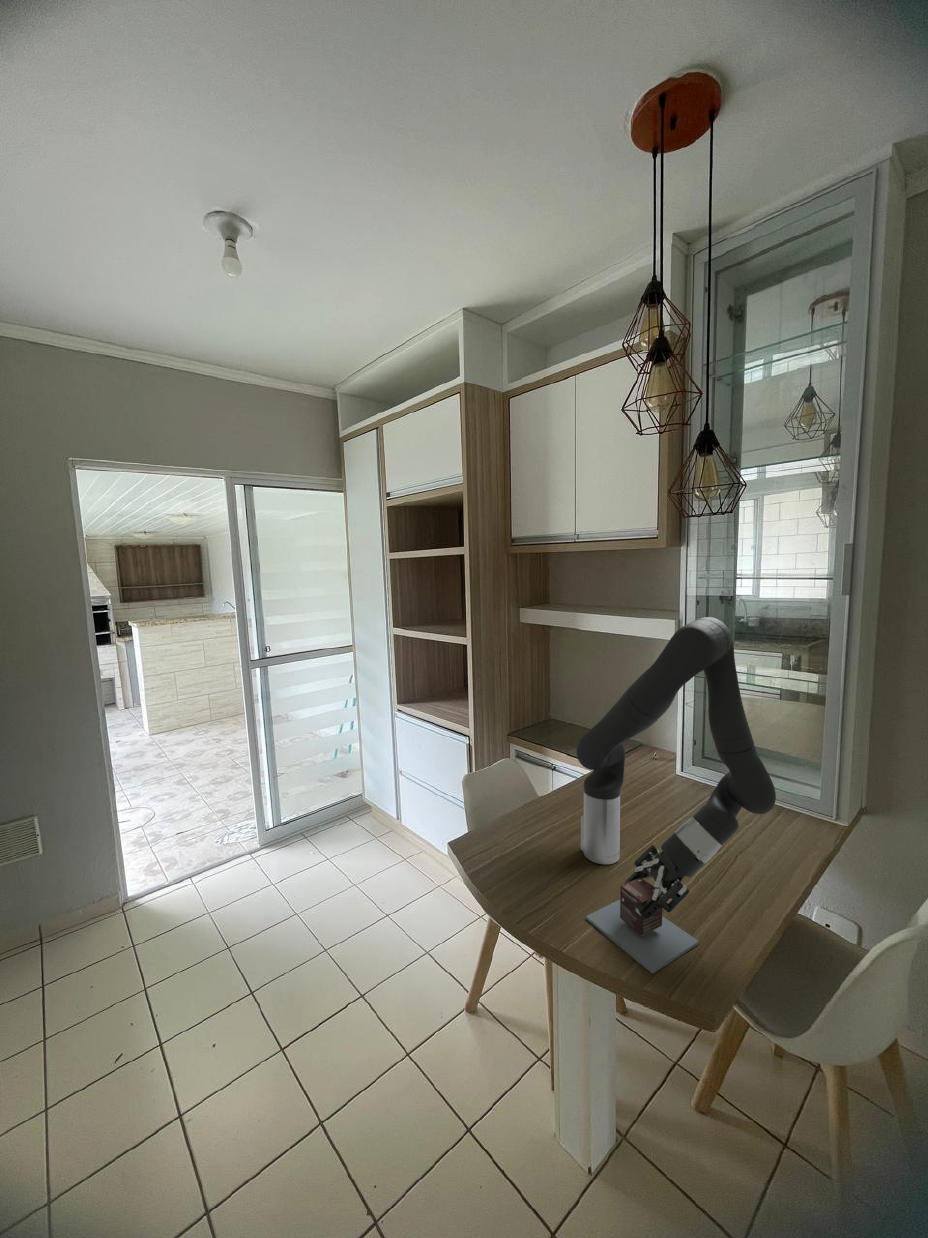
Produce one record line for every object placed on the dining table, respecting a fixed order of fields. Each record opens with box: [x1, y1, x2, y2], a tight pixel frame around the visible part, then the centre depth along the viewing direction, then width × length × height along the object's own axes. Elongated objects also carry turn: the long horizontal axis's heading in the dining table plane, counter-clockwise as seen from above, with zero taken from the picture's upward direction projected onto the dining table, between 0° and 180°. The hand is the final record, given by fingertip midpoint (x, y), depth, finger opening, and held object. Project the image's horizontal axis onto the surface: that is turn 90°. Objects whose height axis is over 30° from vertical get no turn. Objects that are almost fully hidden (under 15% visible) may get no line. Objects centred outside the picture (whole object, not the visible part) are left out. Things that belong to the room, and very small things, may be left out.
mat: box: [585, 899, 700, 974], centre depth 99 cm, size 17×14×1 cm
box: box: [619, 878, 663, 936], centre depth 99 cm, size 6×6×7 cm
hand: (634, 901), depth 99 cm, fingers closed on box, 8 cm apart
